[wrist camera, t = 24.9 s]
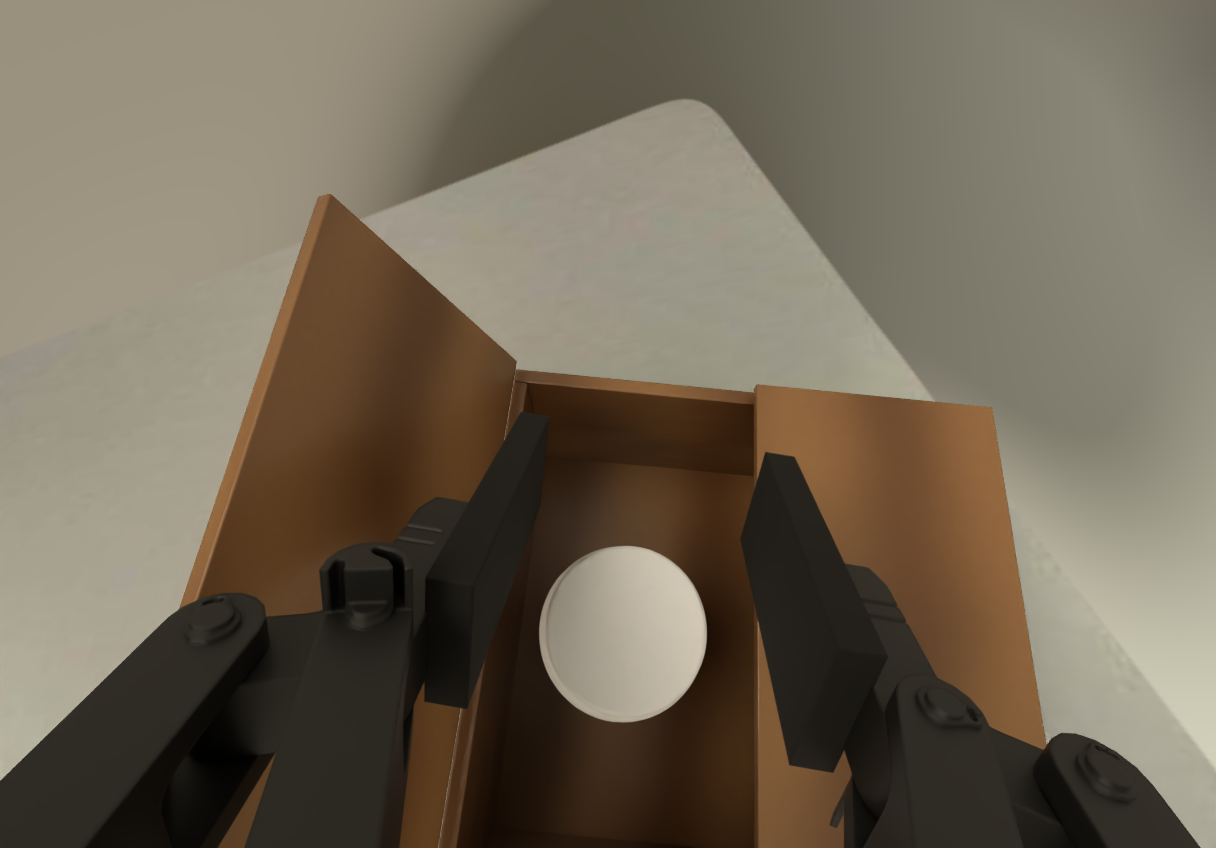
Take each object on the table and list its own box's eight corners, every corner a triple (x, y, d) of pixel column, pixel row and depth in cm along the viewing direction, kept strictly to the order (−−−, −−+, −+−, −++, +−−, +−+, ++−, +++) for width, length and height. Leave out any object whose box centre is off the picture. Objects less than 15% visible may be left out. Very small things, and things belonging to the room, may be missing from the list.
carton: (482, 837, 24) (411, 977, 14) (536, 449, 30) (513, 358, 20) (888, 874, 24) (1097, 1040, 14) (861, 480, 30) (994, 405, 20)
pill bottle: (699, 609, 22) (758, 594, 14) (638, 728, 21) (666, 785, 13) (594, 545, 23) (594, 496, 15) (528, 655, 21) (489, 665, 13)
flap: (418, 973, 14) (405, 969, 14) (517, 361, 20) (507, 362, 20) (-36, 1303, 7) (-53, 1287, 7) (330, 192, 13) (317, 196, 13)
